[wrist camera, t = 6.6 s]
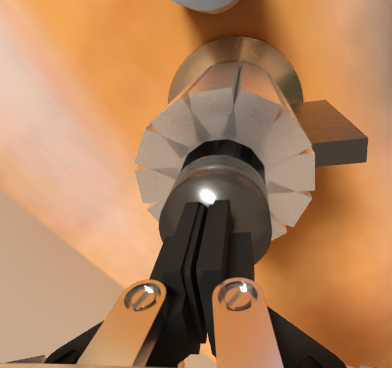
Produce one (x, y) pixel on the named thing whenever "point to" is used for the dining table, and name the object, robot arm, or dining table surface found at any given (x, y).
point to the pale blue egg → (208, 5)
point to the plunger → (222, 195)
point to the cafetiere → (246, 126)
